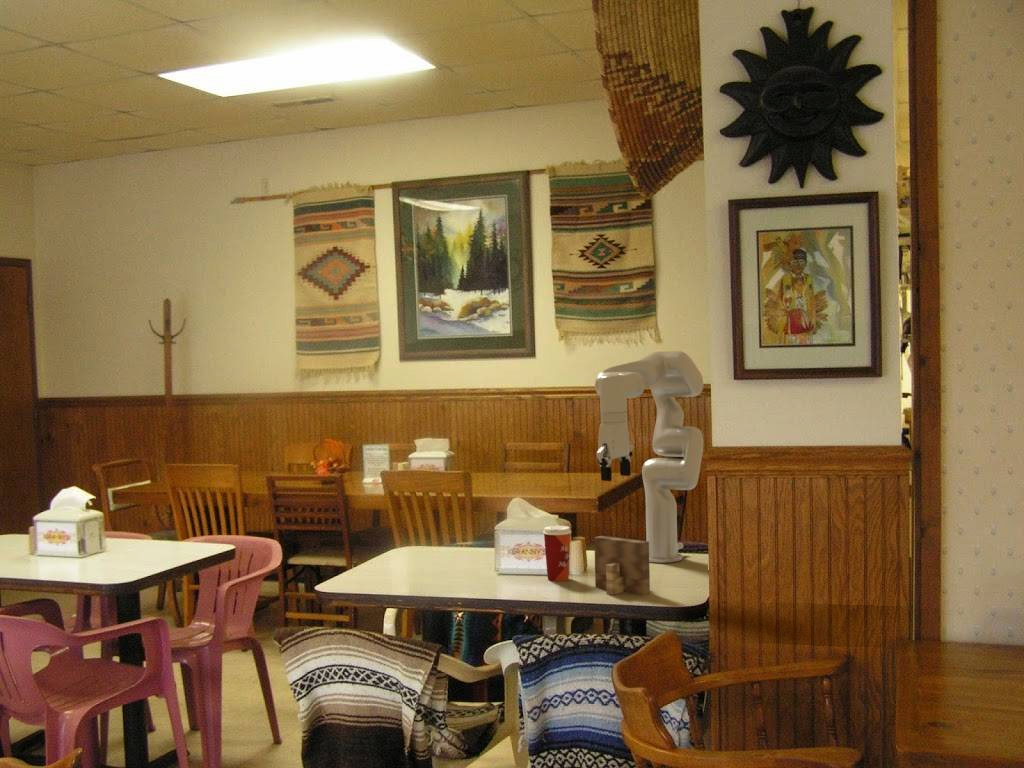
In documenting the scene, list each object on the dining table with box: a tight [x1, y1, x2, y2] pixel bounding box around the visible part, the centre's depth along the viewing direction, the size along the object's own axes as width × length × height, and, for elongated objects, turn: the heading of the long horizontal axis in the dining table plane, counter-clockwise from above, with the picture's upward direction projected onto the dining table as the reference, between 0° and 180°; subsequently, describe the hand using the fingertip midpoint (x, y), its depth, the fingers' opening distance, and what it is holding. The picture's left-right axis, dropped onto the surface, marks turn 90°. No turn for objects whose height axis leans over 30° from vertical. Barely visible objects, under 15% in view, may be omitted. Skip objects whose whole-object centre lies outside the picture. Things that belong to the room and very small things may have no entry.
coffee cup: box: [542, 525, 572, 582], centre depth 305 cm, size 8×8×15 cm
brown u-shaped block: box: [605, 563, 627, 596], centre depth 289 cm, size 12×2×8 cm, turn 140°
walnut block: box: [594, 535, 651, 596], centre depth 289 cm, size 16×3×14 cm, turn 49°
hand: (616, 478), depth 299 cm, fingers open, 9 cm apart
